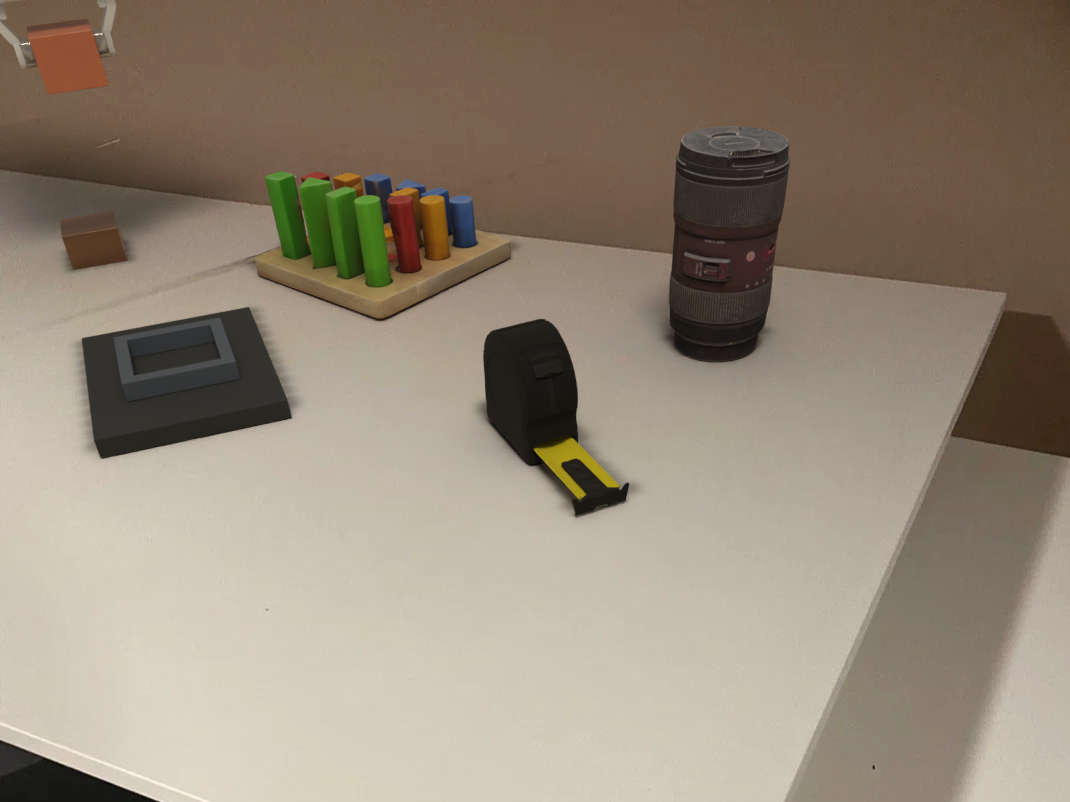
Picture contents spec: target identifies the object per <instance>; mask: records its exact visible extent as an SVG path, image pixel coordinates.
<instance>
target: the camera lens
mask: <svg viewBox="0 0 1070 802" xmlns="http://www.w3.org/2000/svg"><path fill="white" fill-rule="evenodd" d="M789 149H790V141H789V139H788V138H787V137H786V136H784V134H782V133H779V132H777V131H773V130H769V129H765V128H760V127H754V126H737V125H730V126H729V125H727V126H712V127H705V128H699V129H697V130H692V131H689V132H687V133H686V134H684V135H683V136H682V137H681V139H680V145H679V150H678V153H677V154H676V156H675V172H674V174H675V175H674V189H673V204H672V205H673V215H672V216H673V222H674V231H673V243H672V256H671V257H672V258H671V271H670V274H669V275H670V276H669V285H668V286H669V288H668V290H669V291H668V307H669V325H670V327H671V329H672V330H673V343H674V344H673V345H674V347H675V349H676V350H677V351H678V352H679V353H680V354H682V355H683V356H686V357H687V358H691V359H694V360H698V361H703V362H717V363H718V362H719V363H720V362H730V361H734V360H738V359H740V358H744V357H746V356H748V355H750V354H751V353H752V352H753V351H754V350H755V349H756V347H757V345H758V339H759V334H760V333H761V332H762V330H763V329H764V327H765V325H766V319H767V315H768V310H769V307H770V303H771V296H772V288H773V279H774V277H773V274H774V265H775V258H776V250H777V239H778V234H779V226H780V224H781V222H782V217H783V213H784V208H785V201H786V195H787V187H788V181H789V171H790V167H791V166H790V162H791V157H790V155H789V151H790V150H789Z"/></svg>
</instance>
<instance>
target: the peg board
mask: <svg viewBox="0 0 1070 802" xmlns="http://www.w3.org/2000/svg"><path fill="white" fill-rule="evenodd" d="M264 179H265V185H266V189H267V193H268V197H269V201H270V205H271V210H272V213H273V218H274V223H275V226H276V229H277V235H278V238H279V243H280V246H279V247H276V248H274V249H271V250H269V251H266V252H264V253H261V254H259V255H256V256H255V257H254V263H255V267H256V272H257V274H258V276H260V277H262V278H264V279H268V280H271V281H273V282H276V283H279V284H280V285H285V286H286V287H290V288H292V289H296V290H297V291H300V292H304V293H306V294H308V295H312V296H314V297H317V298H320V299H322V300H325V301H328V302H331V303H333V304H336V305H339V306H342V307H345V308H346V309H347V308H348V309H350V310H352V311H355V312H357V313H361V314H363V315H366V316H369V317H372V318H375V319H386V318H387V317H390V316H392V315H394V314H396V313H398V312H401V311H403V310H404V309H406V308H409V307H411V306H413V305H415V304H417V303H419V302H421V301H423V300H425V299H427V298H429V297H431V296H433V295H436V294H437V293H440V292H442V291H444V290H445V289H448V288H450V287H451V286H454V285H456V284H458V283H460V282H462V281H464V280H466V279H468V278H471V277H472V276H475V275H476V274H479V273H481V272H483V271H485V270H487V269H489V268H491V267H493V266H495V265H497V264H500V263H501V262H503V261H506V260H508V259H510V258H511V257H512V243H511V239H509V238H507V237H503V236H500V235H496V234H493V233H489V232H487V231H483V230H480V229H476V222H475V211H474V200H473V197H472V196H470V195H464V194H460V195H455V196H452V197H450V193H449V189H446V188H443V187H435V188H433V189H430V190H427V188H426V185H425V184H422V183H419V182H418V181H414V180H410V179H408V178H406V179H404V180H403V181H402V182H401V183H400V184H398V186H396V188H395V191H393V185H392V179H391V176H389V175H387V174H383V173H374V174H371V175H368V176H366V177H364V178H363V181H362V176H361V175H359V174H356V173H353V172H345V173H342V174H339V175H336V176H334V177H333V179H332V180H333V184H332V182H331V178H330V175H329V174H327V173H324V172H320V171H313V172H309V173H308V174H305V175H302V176H301V177H300V181H301V184H300V185H299V187H297V183H296V178H295V174H294V173H290V172H286V171H283V170H282V171H281V170H280V171H277V172H276V171H275V172H274V173H272V174H269V175H266V176H265V177H264ZM363 182H364V183H363ZM363 184H364V189H363ZM333 186H334V189H333ZM364 190H365V193H364ZM298 191H299V192H298Z"/></svg>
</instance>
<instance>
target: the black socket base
mask: <svg viewBox="0 0 1070 802" xmlns="http://www.w3.org/2000/svg"><path fill="white" fill-rule="evenodd" d="M81 346H82V354H83V361H84V362H83V363H84V369H85V371H84V372H85V378H86V379H85V380H86V387H87V395H88V403H89V404H88V405H89V413H90V420H91V421H90V422H91V429H92V436H93V443H94V445H95V447H96V449H97V452H98V455H99V457H100V458H101V459H106V458H110V457H114V456H119V455H123V454H124V455H125V454H128V453H133V452H137V451H142V450H147V449H152V448H156V447H161V446H162V447H163V446H166V445H170V444H176V443H180V442H181V443H182V442H185V441H189V440H190V441H191V440H194V439H199V438H204V437H208V436H213V435H218V434H222V433H226V432H232V431H237V430H241V429H246V428H250V427H255V426H260V425H261V426H262V425H264V424H269V423H274V422H279V421H283V420H289V419H292V413H291V409H290V405H289V400H288V398H287V396H286V393H285V391H284V388H283V386H282V383H281V381H280V378H279V376H278V374H277V371H276V368H275V366H274V364H273V361H272V359H271V357H270V354H269V352H268V349H267V347H266V344H265V342H264V340H263V337H262V335H261V332H260V330H259V327H258V325H257V322H256V320H255V317H254V315H253V313H252V310H251V308H250V306H246V307H241V308H236V309H230V310H226V311H220V312H219V311H218V312H214V313H209V314H203V315H198V316H193V317H188V318H182V319H176V320H171V321H165V322H161V323H155V324H149V325H145V326H139V327H134V328H129V329H123V330H118V331H112V332H107V333H102V334H97V335H96V334H95V335H92V336H91V335H90V336H86V337H81Z"/></svg>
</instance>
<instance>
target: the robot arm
mask: <svg viewBox="0 0 1070 802" xmlns="http://www.w3.org/2000/svg"><path fill="white" fill-rule="evenodd" d="M24 1H26V0H0V35H1V36H2V37H3V38H4V39H5V40H6V42H8V44H10V45H11V46H13V49H14V52H15V56H16V58H17V60H18V63H19V66H20V68H21V70H25V69H30V68H31V69H32V68H38V65H37V62H36V59H35V56H34V53H33V51H32V48H31V45H30V42H29V39H28V38H22V39H21V38H20V37H19V36H18V35H17V33H16V32H15V31H14V30H13V29H12V28H11V27H10V26H9V25H8V23H6V20H7V19H8V13H7V10H6V7H5V4H8V3H9V4H10V3H16V2H24ZM96 3H97V5H98V7H99V8H100V9H103V12H102V17H101V22H100V27H99V28H97V29H92V32H93V35H94V38H95V42H96V45H97V48H98V52H99V55H100V58H101V59H105V58H112V57H117V56H118V55H117V51H116V48H115V45H114V41H113V38H112V34H111V33H112V31H113V26H114V22H115V17H116V12H117V6H118V5H117V3H116V0H96Z"/></svg>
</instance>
